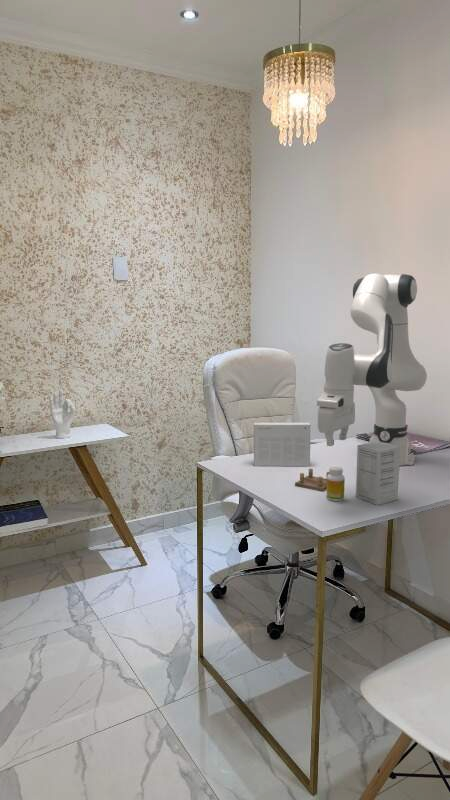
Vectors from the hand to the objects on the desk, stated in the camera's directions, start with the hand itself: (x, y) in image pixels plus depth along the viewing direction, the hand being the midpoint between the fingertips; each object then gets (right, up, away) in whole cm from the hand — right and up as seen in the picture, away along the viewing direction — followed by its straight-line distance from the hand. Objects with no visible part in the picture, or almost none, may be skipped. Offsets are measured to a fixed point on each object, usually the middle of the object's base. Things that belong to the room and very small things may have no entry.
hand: (336, 442), depth 169 cm
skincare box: (-13, -12, +40) cm, 44 cm away
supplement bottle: (0, -18, +3) cm, 18 cm away
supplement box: (+13, -18, +3) cm, 22 cm away
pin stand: (-4, -15, +17) cm, 23 cm away
